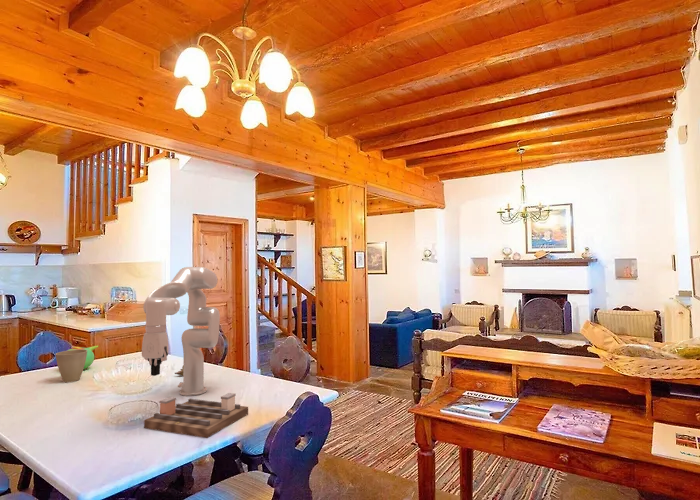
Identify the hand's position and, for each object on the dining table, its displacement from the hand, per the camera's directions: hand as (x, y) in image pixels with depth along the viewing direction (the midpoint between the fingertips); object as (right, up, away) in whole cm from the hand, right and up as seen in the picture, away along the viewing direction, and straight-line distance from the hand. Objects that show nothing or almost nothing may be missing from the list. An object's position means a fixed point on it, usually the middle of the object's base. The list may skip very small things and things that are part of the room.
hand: (155, 374), depth 169 cm
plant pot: (-77, -23, +63) cm, 102 cm away
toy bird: (-90, -24, +89) cm, 129 cm away
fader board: (+18, -18, -1) cm, 26 cm away
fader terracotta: (+6, -15, -3) cm, 17 cm away
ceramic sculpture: (-15, -23, +74) cm, 79 cm away
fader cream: (+29, -15, +2) cm, 33 cm away
